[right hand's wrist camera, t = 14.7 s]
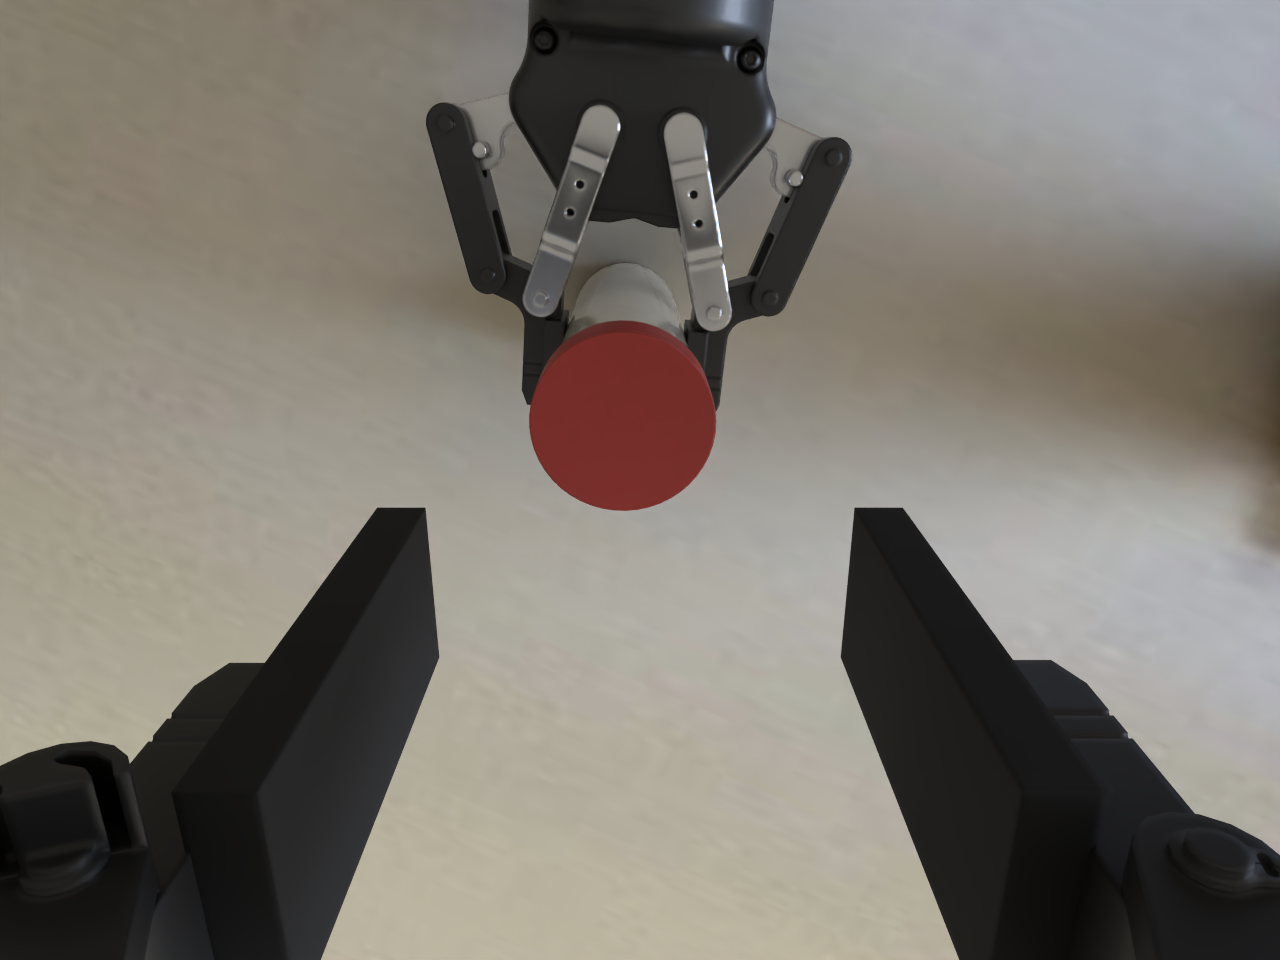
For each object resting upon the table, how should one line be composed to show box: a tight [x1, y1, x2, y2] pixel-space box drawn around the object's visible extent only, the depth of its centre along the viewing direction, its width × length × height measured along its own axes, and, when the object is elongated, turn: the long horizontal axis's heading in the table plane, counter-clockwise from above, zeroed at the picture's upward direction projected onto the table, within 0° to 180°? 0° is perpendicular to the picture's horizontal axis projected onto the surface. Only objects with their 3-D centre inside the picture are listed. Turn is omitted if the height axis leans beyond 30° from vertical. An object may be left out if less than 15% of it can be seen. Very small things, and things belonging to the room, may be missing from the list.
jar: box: [562, 263, 688, 348], centre depth 30 cm, size 4×4×15 cm
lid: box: [529, 320, 716, 511], centre depth 23 cm, size 5×5×2 cm
